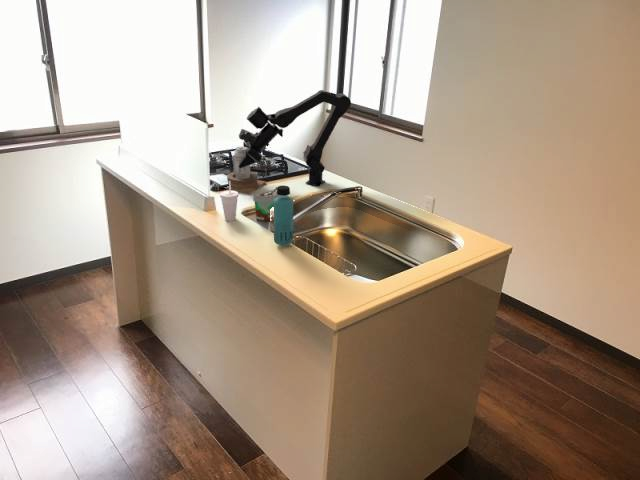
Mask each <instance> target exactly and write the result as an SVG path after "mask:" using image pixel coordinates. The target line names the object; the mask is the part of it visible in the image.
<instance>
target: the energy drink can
mask: <svg viewBox="0 0 640 480" xmlns="http://www.w3.org/2000/svg"><path fill="white" fill-rule="evenodd" d="M247 149H248V148H247V147H243V146H237V147H236V148H235V150H234V167H235V168H234V172H235V174H236V178H237V179H247V178H250V172H251V165H248V166H245V167H243V168H239V167H238V166H239V165H240V163H241V162H242V160H243V159H244V157H245V156H246V151H247Z"/></svg>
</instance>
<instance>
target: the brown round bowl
mask: <svg viewBox="0 0 640 480" xmlns="http://www.w3.org/2000/svg"><path fill="white" fill-rule="evenodd" d="M226 176H227V179H226V180H227V181H228V184H229V181H230V185H231V190H233V191H236V192H238V193H239V194H240V193H241V194H244V195H245V194H246V195H251V193H253V192H254V191H256V190H258V189H259V188H261V187H263V186H265V185H266V184H267V181H264V180H261V179H260V180H259V179H258V173H256V172H254V171H250V178H247V179H237V178H236V174H235V171H232V172H230V173H228V174H227V175H226ZM227 181H226V182H227ZM224 188H225V189H226V190H225V189H224V190H225V191H227V190H229V186H227V187H224Z"/></svg>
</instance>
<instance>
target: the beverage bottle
mask: <svg viewBox="0 0 640 480" xmlns="http://www.w3.org/2000/svg"><path fill="white" fill-rule="evenodd" d="M276 187H277V194H278V195H280V196H277V197H276V198H275V199H274V201H273V202H274V221H273V242H274V243H275V244H276V245H278V246H289V245H291V244H293V241H294V238H295V237H294V235H295V234H294V199H293V198H292V197H291V196H289V195H291V189H290V186H289V185H278V186H276Z"/></svg>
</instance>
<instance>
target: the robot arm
mask: <svg viewBox="0 0 640 480" xmlns="http://www.w3.org/2000/svg"><path fill="white" fill-rule="evenodd" d="M323 103H325V104H329V105H331V107H330V111H329V114H328V116H327V118H326V119H325V122H324V123H323V125H322V127H321V129H320V131H319V133H318V135H317V137H316V138H315V141H314V142H313V144H311V146H310V144H308V145H306V148H305V150H304V152H303V156H302V158H303V161H304V163H305V164H306V166H307V167H308V168H309V169H308V180H307V181H305V184H306V185H312V186H316V187H321V186H322V185H323V184H325V183H326V180H324V179H323V172H324V171H325V168H326V166H324V164H323V163H322V161H321V160H322V156H323V150H324V148H325V147H326V145H327V142H328V140H329V139H330V136H331V135H332V133H333V131H334V130H335V127H336V126H337V124H338V122H339V120H340V118H341V117H343V116H344V115H345V114H346V113H347V112H348V111H349V109H350V108H351V105H352V102H351V99H350V98H349V97H348V95H346V94H345V93H342V92H341V93H340V92H339V93H334V92H330V91H325V90H323V89H320V90H318V91H317V92H316V93H314V94H312V95H311V96H309V97H307V98H306V99H304V100H301V101H300V102H298V103H297V104H295V105H293V106H291V107H285V108H282V109H280V110H278V111H275V113H270V114H267V113H265V112H264V110H262V108H261V107H260V106H257V108H255V109H253V110H252V111H251V112H250V113H249V114H248V115H247V117H246V120H247V121H248V122H249V123H250V124H251V125H252V126H254V128H256V129H257V130H258V129H259V130H260V129H261V130H260V131H259V132H258V131H257V132H255V133H253V132H250V131H248V130H246V129H244V128H241V129H240V132H239V134H238V138H239V139H240V140H241V141H243V144H242V145H243V146H242V147H247V148H248V149H247V151H246V156H245V157H244V159H243V160H242V162H241V163H240V165H239V166H238V167H239V168H243V167H245V166H248V165H250V166H251V165H253V164H258V163H260V162H261V161H262V160H263V158H262V157H263V155H262V153H263V151H264V150H263V149H265V148H266V147H268V146H270V143H271V142H272V140H274V138H275V137H276V136H278V135H279V136H280V137H281V138H283V137H284V136H283V135H284V134H283V133H284V130H283V129H285V128H288V127H289V126H290V125H291V124H293V122H294V121H296V120H297V118H298V117H300V116H301V115H303V114H304V113H305V114H306V113H307V112H308V111H310V110H312V109H313V108H316V106H319V105H320V104H323Z"/></svg>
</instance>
